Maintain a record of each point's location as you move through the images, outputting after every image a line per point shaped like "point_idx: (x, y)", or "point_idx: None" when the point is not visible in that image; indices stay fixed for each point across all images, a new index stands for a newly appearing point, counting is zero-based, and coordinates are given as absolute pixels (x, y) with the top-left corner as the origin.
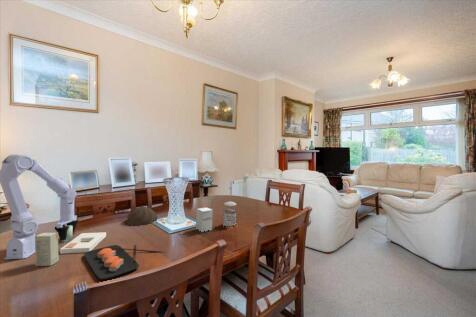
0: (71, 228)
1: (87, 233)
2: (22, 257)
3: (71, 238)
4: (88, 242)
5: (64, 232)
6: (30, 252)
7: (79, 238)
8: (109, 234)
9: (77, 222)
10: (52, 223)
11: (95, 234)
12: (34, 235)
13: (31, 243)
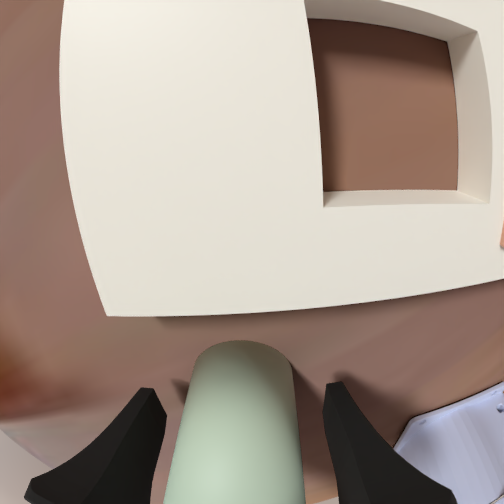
0: (240, 483)
1: (98, 227)
2: (502, 393)
3: (248, 357)
4: (488, 38)
5: (396, 460)
6: (472, 409)
7: (348, 230)
8: (54, 2)
9: (54, 481)
10: (47, 462)
11: (140, 51)
12: (485, 491)
13: (489, 448)
